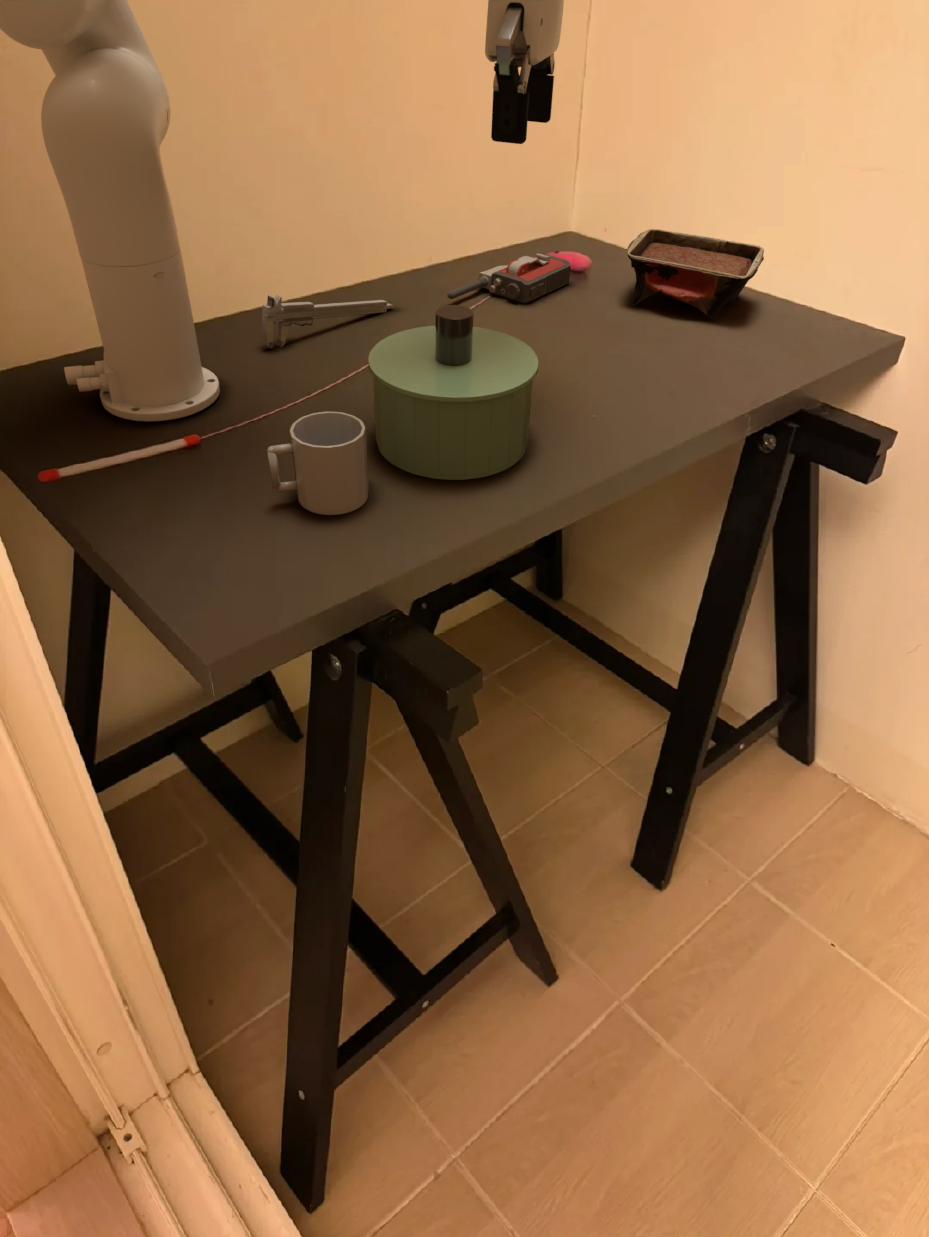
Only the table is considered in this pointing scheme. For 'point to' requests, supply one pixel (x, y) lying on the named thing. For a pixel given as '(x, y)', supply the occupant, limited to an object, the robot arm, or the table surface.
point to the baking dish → (692, 268)
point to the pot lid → (453, 360)
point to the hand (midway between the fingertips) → (521, 131)
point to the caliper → (309, 315)
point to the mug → (325, 462)
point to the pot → (451, 433)
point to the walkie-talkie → (521, 278)
